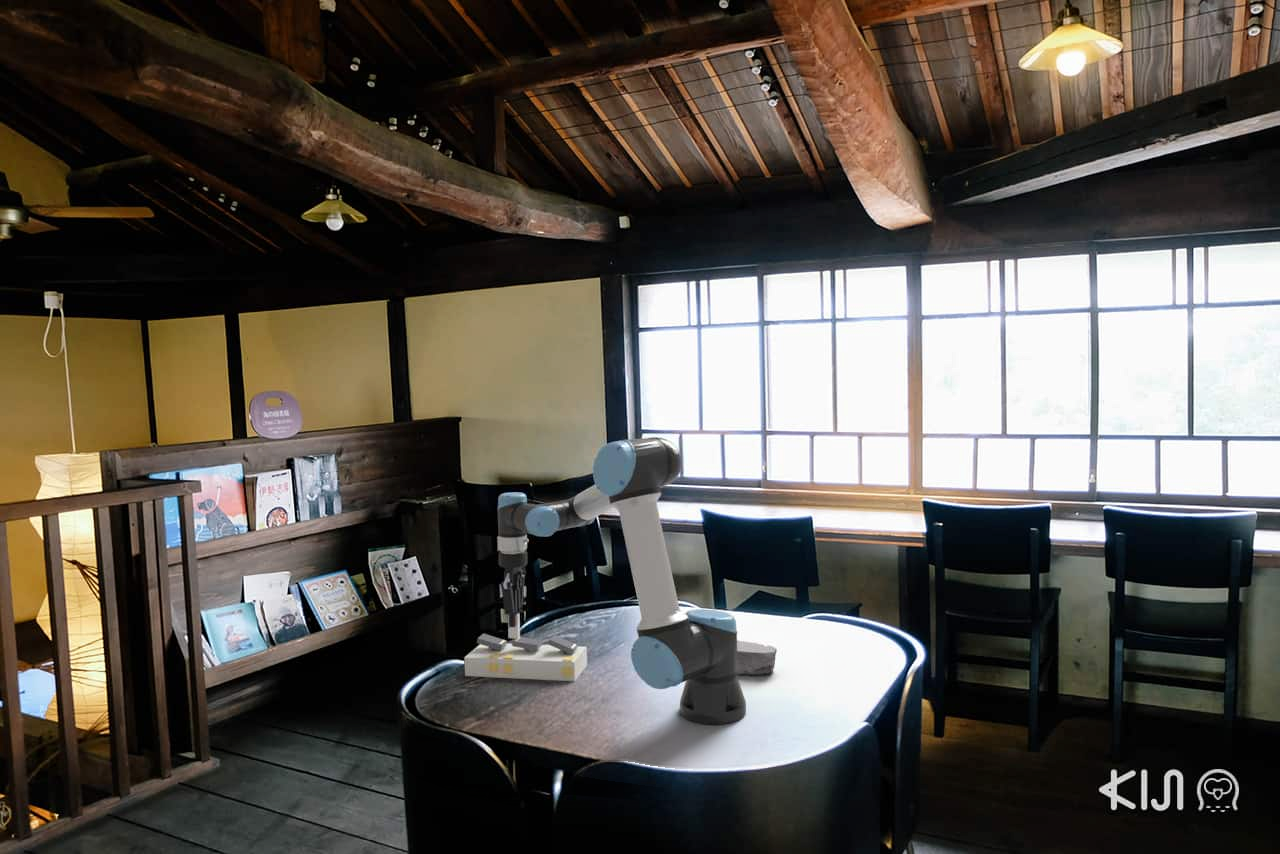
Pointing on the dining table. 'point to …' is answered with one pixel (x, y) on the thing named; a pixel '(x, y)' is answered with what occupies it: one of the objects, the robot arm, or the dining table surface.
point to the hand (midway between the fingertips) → (514, 637)
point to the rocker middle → (527, 643)
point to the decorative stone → (755, 659)
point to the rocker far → (492, 642)
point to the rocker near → (563, 644)
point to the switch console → (526, 663)
